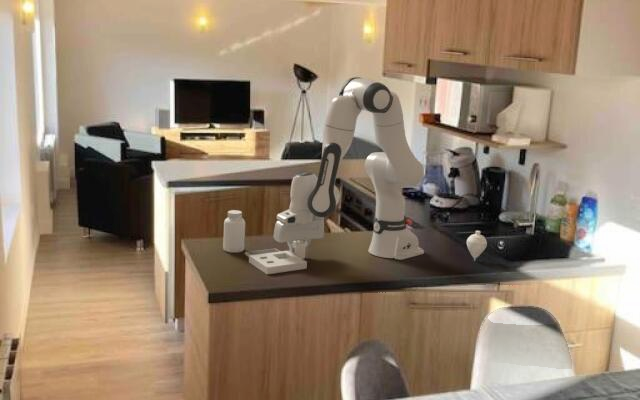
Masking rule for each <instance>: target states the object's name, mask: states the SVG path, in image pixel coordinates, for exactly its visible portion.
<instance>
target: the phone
mask: <svg viewBox="0 0 640 400" xmlns="http://www.w3.org/2000/svg"><path fill="white" fill-rule="evenodd" d="M280 251H281V250H279V249H277V248H270V249H260V250H253V251H245V252H244V255H245V256H247V257H248V258H249V255H257V254H264V253H272V252H280Z"/></svg>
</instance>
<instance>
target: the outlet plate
mask: <svg viewBox="0 0 640 400" xmlns="http://www.w3.org/2000/svg"><path fill="white" fill-rule="evenodd" d="M279 251H280V252H272V253H264V254H257V255H249V257H248V263H249V264H251V265H252V266H254V267H255V268H257V270H258V269H259V270H260V272H263V273H264V274H266V275H272V274H279V273H285V272H286V273H287V272H293V271H298V270H305V269H308V268H307V267H308V266H307V265H308V261H307V260H305V259H301V258H300V257H298V256H296V255H294V254H293V253H291V252H289V250H283V251H282V250H279Z"/></svg>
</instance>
